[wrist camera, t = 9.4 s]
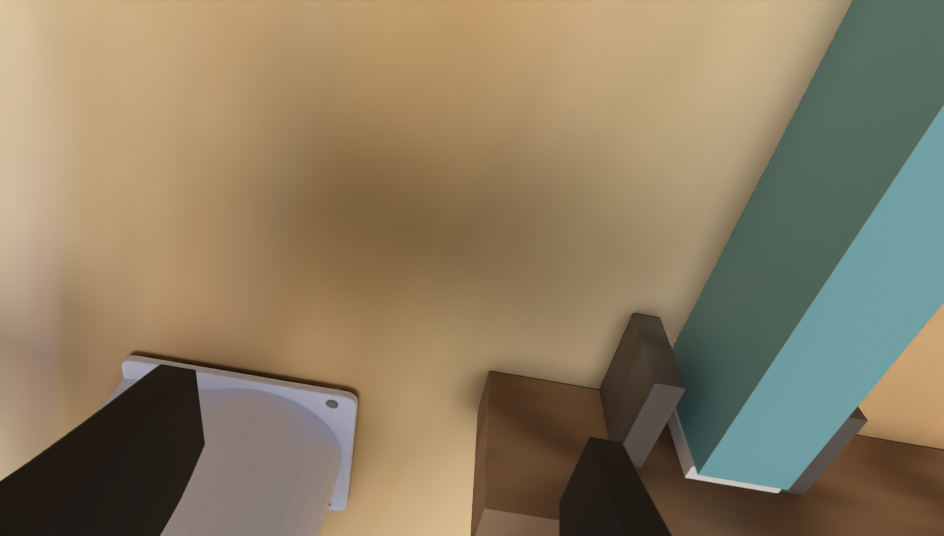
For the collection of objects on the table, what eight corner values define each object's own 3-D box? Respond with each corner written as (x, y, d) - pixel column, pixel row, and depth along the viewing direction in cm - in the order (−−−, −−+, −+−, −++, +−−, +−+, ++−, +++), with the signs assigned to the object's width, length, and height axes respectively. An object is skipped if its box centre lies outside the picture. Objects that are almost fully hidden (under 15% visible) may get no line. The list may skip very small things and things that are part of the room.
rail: (653, 375, 22) (686, 485, 18) (863, -36, 14) (1013, -9, 10) (730, 389, 22) (781, 501, 18) (981, -9, 14) (1177, 28, 10)
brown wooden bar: (477, 413, 23) (469, 551, 18) (512, 291, 20) (513, 422, 15) (921, 488, 25) (1027, 638, 20) (1029, 385, 21) (1192, 537, 16)
